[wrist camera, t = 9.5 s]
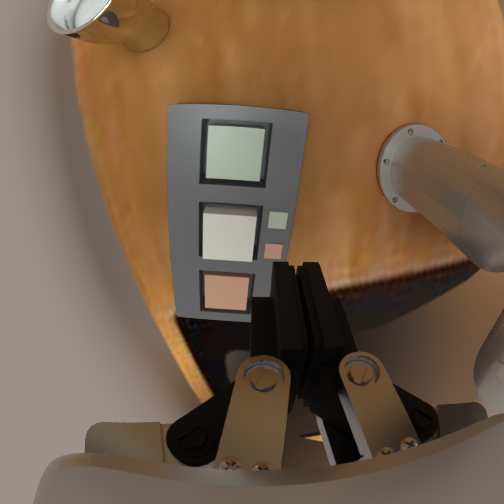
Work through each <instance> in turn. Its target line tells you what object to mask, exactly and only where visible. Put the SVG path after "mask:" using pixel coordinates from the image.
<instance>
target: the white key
mask: <svg viewBox="0 0 504 504" xmlns="http://www.w3.org/2000/svg"><path fill="white" fill-rule="evenodd" d="M256 220H257V213H256V206H247V205H233V204H217V203H207V204H206V206H205V209H204V212H203V259H215V260H229V261H244V262H252V257H253V248H254V238H255V229H256Z"/></svg>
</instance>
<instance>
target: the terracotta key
mask: <svg viewBox="0 0 504 504" xmlns="http://www.w3.org/2000/svg"><path fill="white" fill-rule="evenodd" d="M248 285H249V273H234V272H219V271H205V308H217V309H232V310H246V304H247V295H248Z"/></svg>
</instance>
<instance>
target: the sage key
mask: <svg viewBox="0 0 504 504" xmlns="http://www.w3.org/2000/svg"><path fill="white" fill-rule="evenodd" d="M264 135H265V128H264V127H263V126H252V125H239V124H222V123H211V124H210V125H208V143H207V163H206V178H217V179H233V180H247V181H259V182H260V172H261V163H262V153H263V144H264Z"/></svg>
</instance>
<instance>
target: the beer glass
mask: <svg viewBox="0 0 504 504" xmlns="http://www.w3.org/2000/svg"><path fill="white" fill-rule="evenodd" d="M47 21H48V25H49V27H50V28H51V29H52V30H53V31H54V32H55V33H58V34H63V35H66V36H68V37H71V38H74V39H77V40H81V41H84V42H89V43H95V44H123V45H124V46H125V47H126V48H128V49H129V50H131V51H135V52H143V51H147V50H150V49H152V48H154V47H156V46H157V45H159V44H160V43H161V42H162V41H163V40H164V38H165V37H166V35H167V33H168V30H169V20H168V17H167V16H166V14H165V13H164V12H162V11H160V10H158V9H154V8H153V7H152V5H151V2H150V0H51V2H50V4H49V7H48V12H47Z"/></svg>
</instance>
